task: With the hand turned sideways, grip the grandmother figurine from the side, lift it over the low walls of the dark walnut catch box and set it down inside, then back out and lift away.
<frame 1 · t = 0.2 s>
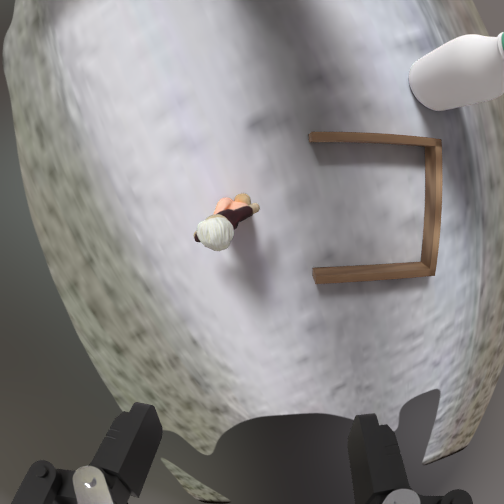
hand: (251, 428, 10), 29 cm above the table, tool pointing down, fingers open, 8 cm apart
milk bottle: (429, 85, 30), on the table
catch box: (372, 205, 35), on the table
grandmother figurine: (231, 210, 37), on the table
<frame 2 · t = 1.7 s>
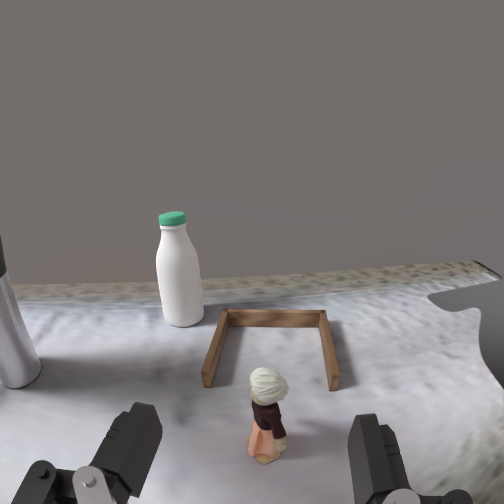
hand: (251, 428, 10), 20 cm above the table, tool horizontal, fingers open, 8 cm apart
milk bottle: (184, 318, 55), on the table
catch box: (272, 355, 44), on the table
grandmother figurine: (265, 452, 27), on the table
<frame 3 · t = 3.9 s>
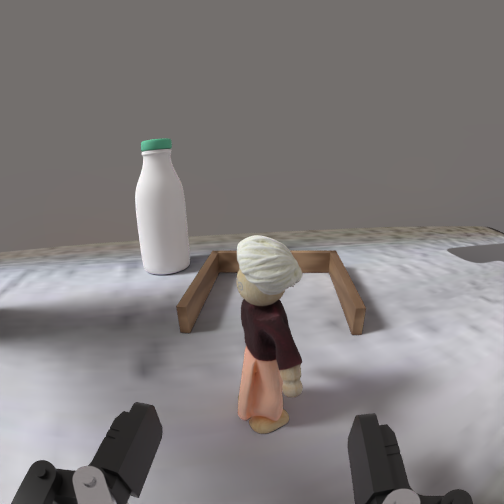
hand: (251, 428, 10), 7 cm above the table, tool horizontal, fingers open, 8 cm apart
milk bottle: (167, 267, 46), on the table
catch box: (272, 298, 35), on the table
grandmother figurine: (264, 416, 18), on the table
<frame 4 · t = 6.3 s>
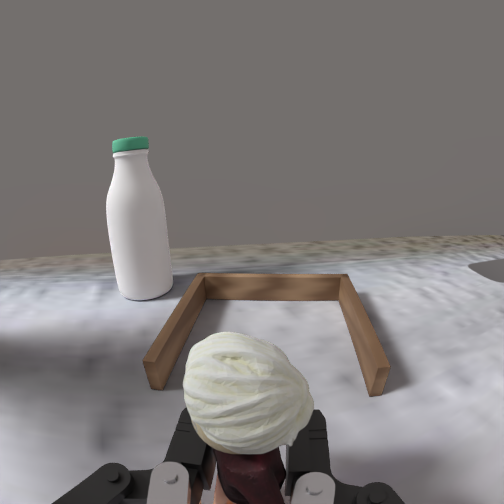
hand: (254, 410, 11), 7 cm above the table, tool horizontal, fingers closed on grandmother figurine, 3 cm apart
milk bottle: (146, 290, 39), on the table
catch box: (269, 339, 27), on the table
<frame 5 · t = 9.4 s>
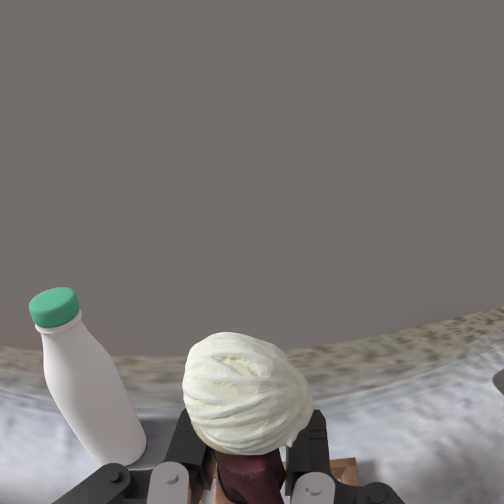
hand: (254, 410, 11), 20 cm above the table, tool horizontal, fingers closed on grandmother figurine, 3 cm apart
milk bottle: (118, 445, 26), on the table
when the fingers open (8 cm above the table, at t = 12.8 s): grandmother figurine stays where it is, on the table.
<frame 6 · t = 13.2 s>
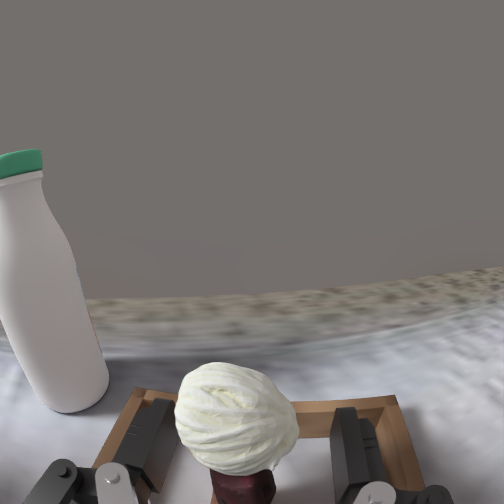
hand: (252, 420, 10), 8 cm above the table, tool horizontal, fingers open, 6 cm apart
milk bottle: (74, 387, 21), on the table
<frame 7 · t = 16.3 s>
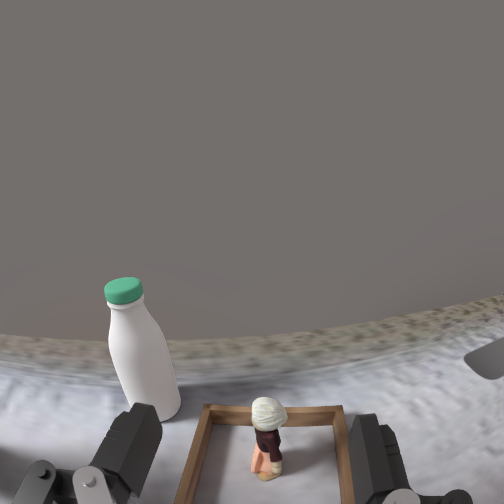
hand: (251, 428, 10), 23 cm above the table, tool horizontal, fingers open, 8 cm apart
milk bottle: (157, 406, 38), on the table
catch box: (269, 475, 26), on the table
grandmother figurine: (267, 470, 27), on the table
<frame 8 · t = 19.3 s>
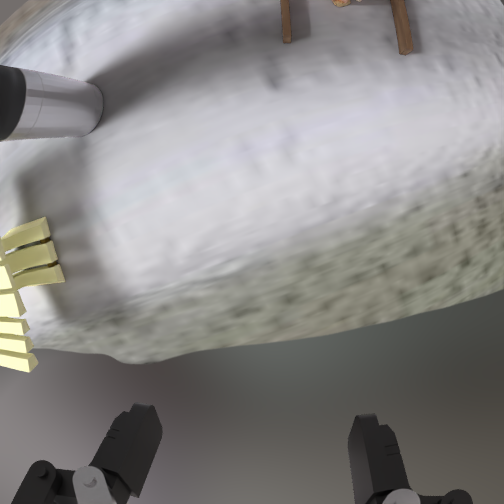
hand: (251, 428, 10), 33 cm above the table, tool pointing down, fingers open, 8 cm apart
slatted curved stool: (32, 255, 48), on the table
catch box: (342, 2, 29), on the table
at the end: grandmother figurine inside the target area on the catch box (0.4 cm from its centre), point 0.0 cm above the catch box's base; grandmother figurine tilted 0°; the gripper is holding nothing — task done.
